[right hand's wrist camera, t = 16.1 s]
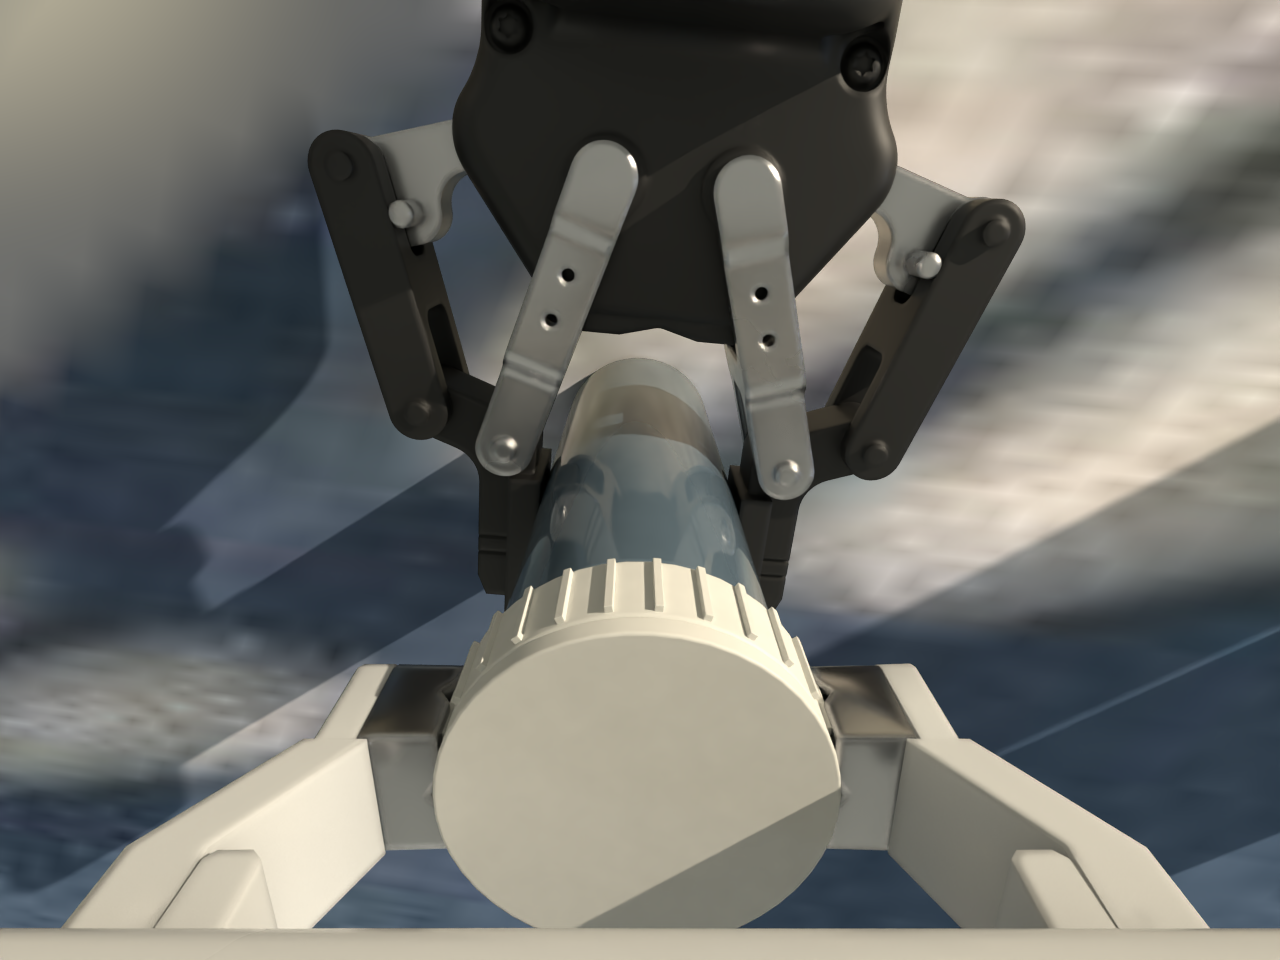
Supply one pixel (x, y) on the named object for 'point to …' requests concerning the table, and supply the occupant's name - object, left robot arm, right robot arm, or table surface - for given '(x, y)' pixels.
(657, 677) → the lid
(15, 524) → the table surface
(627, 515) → the dark grey cylinder
